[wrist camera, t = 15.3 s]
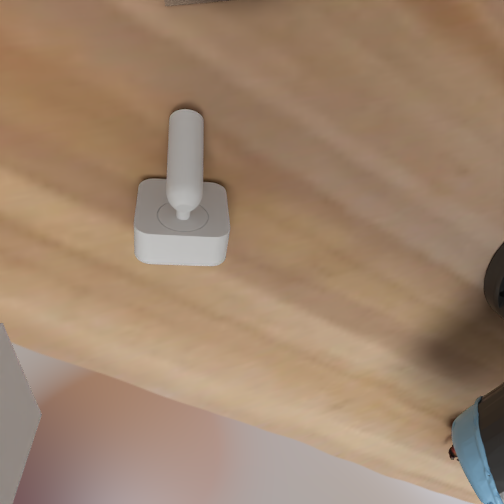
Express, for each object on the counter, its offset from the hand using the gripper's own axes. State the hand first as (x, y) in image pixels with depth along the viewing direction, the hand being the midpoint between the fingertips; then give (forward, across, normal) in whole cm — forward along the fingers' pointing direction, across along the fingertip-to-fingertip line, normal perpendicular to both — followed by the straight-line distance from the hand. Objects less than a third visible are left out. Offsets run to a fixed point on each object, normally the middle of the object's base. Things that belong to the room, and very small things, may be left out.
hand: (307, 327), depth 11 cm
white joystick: (+35, +4, +7) cm, 36 cm away
